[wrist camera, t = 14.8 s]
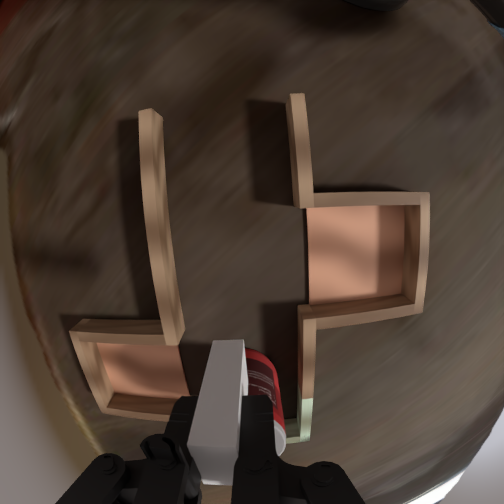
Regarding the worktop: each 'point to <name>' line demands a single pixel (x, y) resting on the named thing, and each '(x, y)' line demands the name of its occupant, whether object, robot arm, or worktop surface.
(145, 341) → the channel
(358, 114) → the worktop surface
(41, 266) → the worktop surface
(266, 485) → the robot arm
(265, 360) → the canned food
